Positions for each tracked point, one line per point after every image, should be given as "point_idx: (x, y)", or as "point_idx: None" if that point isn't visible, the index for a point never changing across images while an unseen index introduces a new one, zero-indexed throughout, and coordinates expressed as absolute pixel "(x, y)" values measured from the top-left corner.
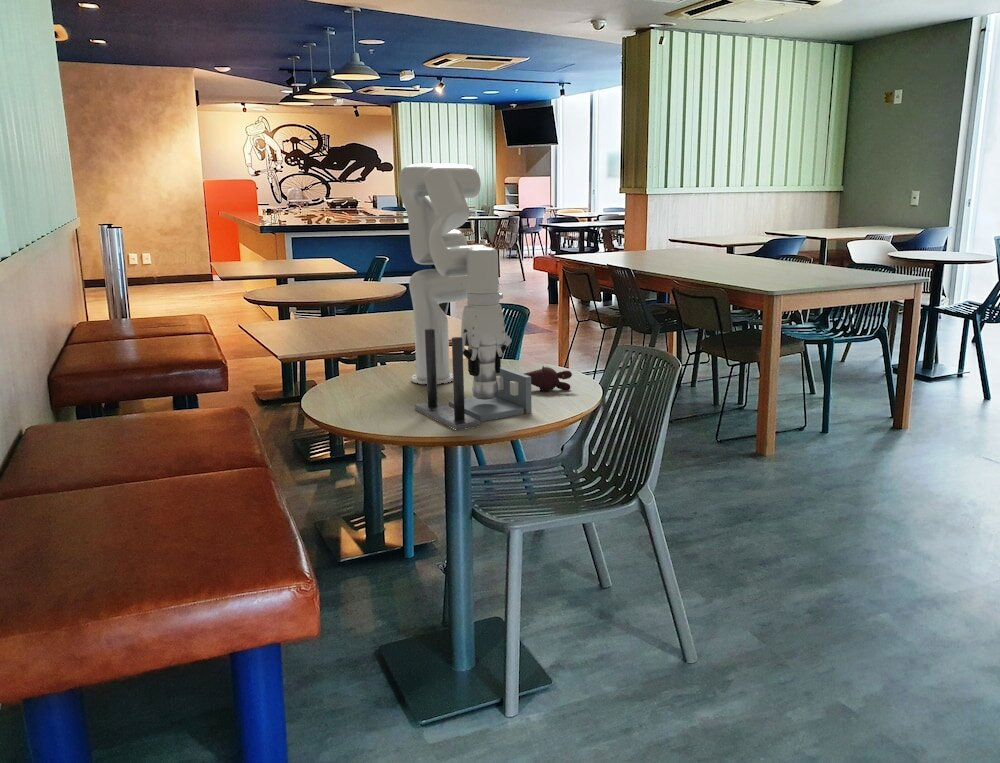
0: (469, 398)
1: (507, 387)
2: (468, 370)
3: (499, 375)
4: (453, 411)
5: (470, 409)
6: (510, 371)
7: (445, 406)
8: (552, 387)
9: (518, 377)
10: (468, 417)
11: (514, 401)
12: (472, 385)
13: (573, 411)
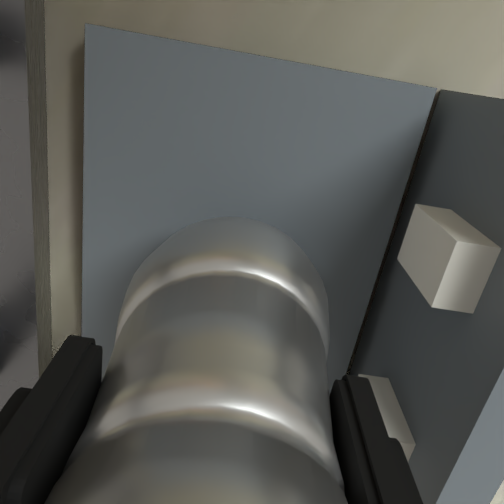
0: (253, 67)
1: (421, 324)
2: (14, 395)
3: (500, 253)
4: (2, 245)
5: (100, 286)
6: (478, 446)
7: (8, 115)
8: None
9: None
10: (22, 375)
11: (375, 348)
12: (130, 289)
13: (493, 497)
